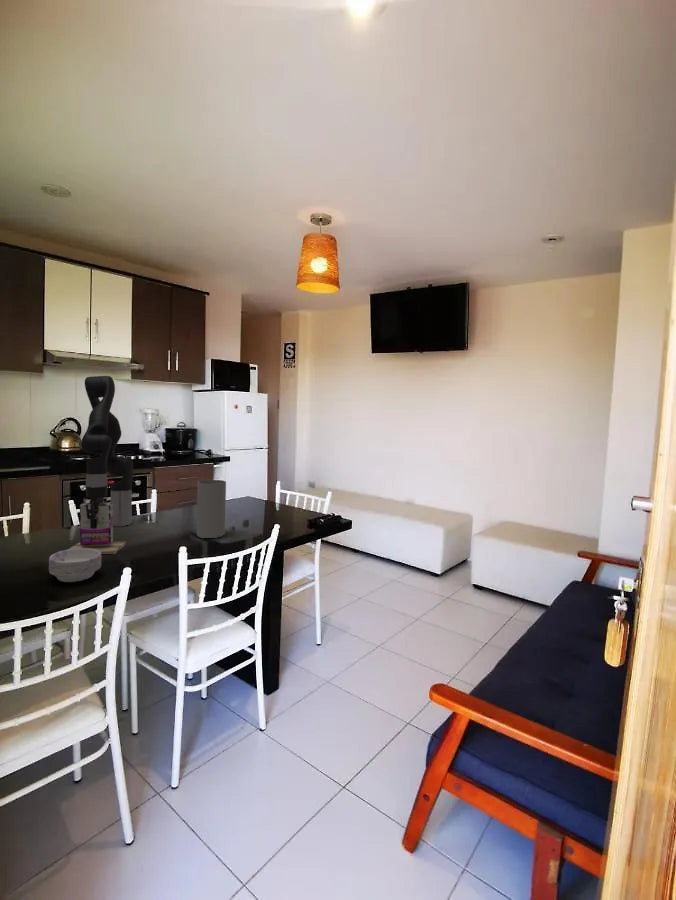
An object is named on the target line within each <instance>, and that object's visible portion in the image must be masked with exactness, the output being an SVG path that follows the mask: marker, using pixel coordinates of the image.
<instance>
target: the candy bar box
mask: <svg viewBox="0 0 676 900" xmlns="http://www.w3.org/2000/svg"><path fill="white" fill-rule="evenodd" d="M86 504H90V502H82V503H81V504H80V505H79V531H80V532H79V537H80V539H79V540H80V541H79V542H80V545H105V544H111V543H112V542H113V541H114V526H113V502H111V501H109V502H108V501H107V502H104V503H101V504H100V506H99V513H98V514H97V528H96V529H91V528H90V519H87V512H86ZM97 506H98V505H97ZM94 511H97V510H94ZM89 515H90V513H89Z"/></svg>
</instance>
